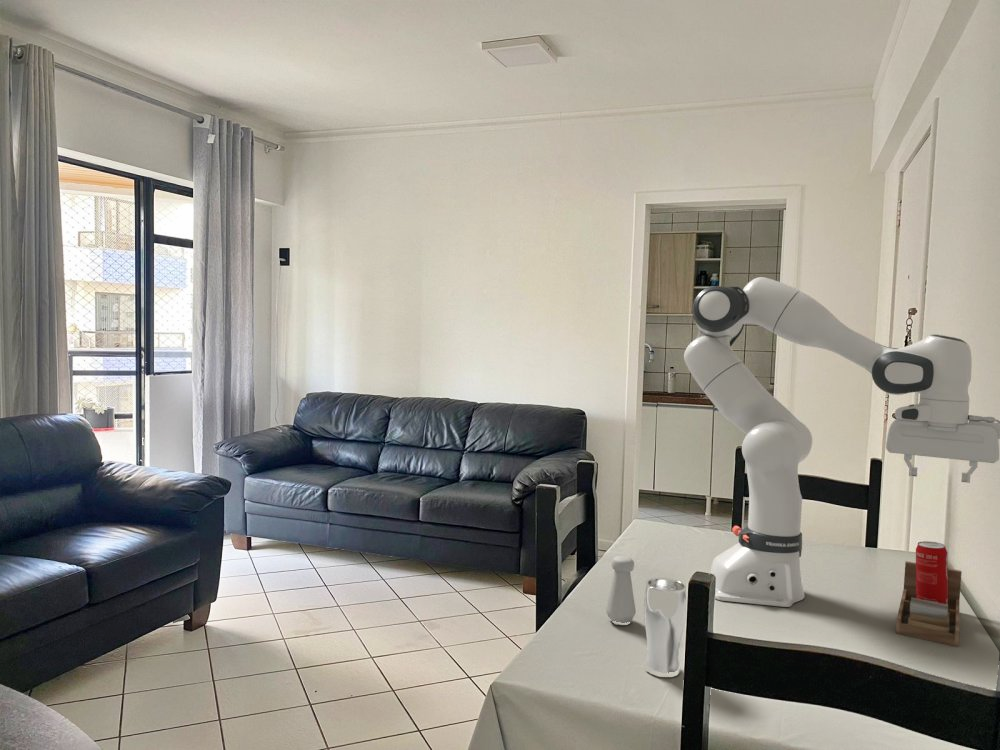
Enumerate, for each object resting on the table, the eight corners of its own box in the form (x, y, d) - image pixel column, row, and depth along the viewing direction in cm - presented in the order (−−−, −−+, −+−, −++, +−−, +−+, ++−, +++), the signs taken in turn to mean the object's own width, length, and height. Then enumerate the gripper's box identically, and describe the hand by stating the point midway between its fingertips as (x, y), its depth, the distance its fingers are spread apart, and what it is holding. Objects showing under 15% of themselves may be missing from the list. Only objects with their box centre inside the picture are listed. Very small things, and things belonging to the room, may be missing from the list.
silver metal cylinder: (948, 636, 142) (950, 612, 142) (907, 627, 146) (909, 604, 145) (948, 628, 146) (950, 605, 146) (909, 619, 150) (910, 597, 150)
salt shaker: (612, 629, 140) (615, 563, 139) (600, 617, 146) (603, 554, 145) (640, 626, 142) (643, 561, 141) (627, 615, 147) (630, 552, 146)
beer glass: (676, 660, 127) (680, 577, 126) (688, 680, 120) (692, 592, 119) (637, 660, 127) (641, 576, 126) (646, 679, 120) (650, 591, 119)
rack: (958, 646, 137) (961, 600, 136) (895, 632, 142) (898, 588, 142) (958, 612, 155) (961, 570, 154) (903, 601, 160) (905, 561, 160)
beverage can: (952, 620, 150) (957, 549, 149) (917, 617, 151) (922, 546, 150) (940, 610, 155) (945, 541, 154) (907, 606, 157) (912, 538, 156)
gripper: (1003, 416, 148) (998, 483, 148) (889, 408, 159) (885, 470, 159) (1004, 419, 142) (999, 488, 143) (887, 410, 153) (883, 474, 154)
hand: (938, 479), depth 151 cm, fingers open, 8 cm apart
